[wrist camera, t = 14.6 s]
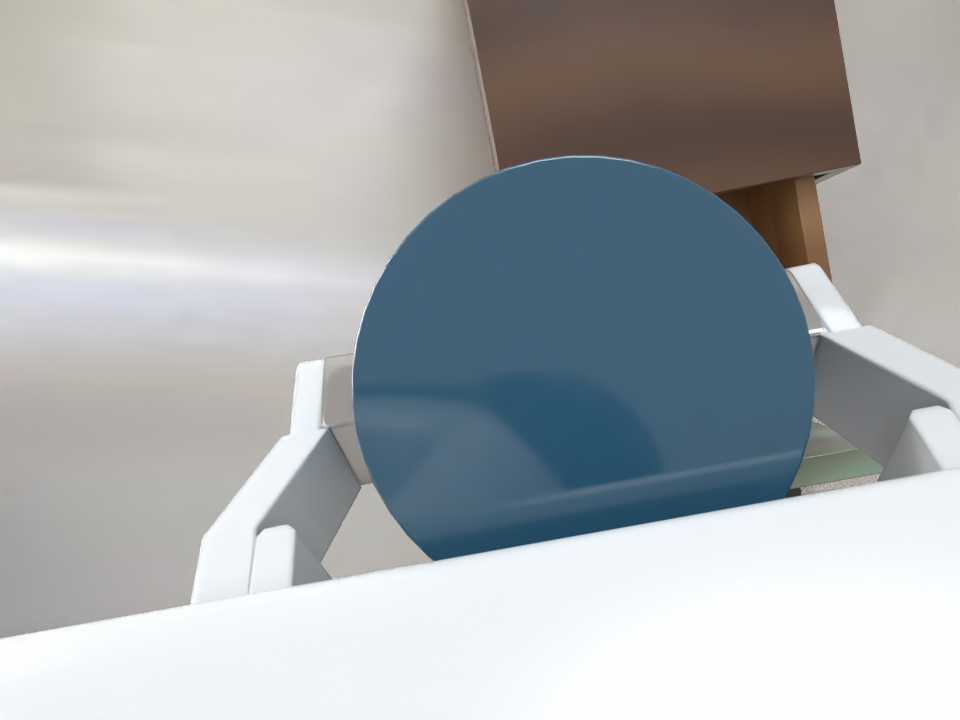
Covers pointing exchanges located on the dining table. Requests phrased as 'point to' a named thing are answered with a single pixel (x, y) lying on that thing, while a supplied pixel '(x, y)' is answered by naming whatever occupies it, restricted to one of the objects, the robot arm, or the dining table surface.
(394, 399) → the blue cylinder
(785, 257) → the drawer
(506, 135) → the cabinet
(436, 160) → the dining table surface
